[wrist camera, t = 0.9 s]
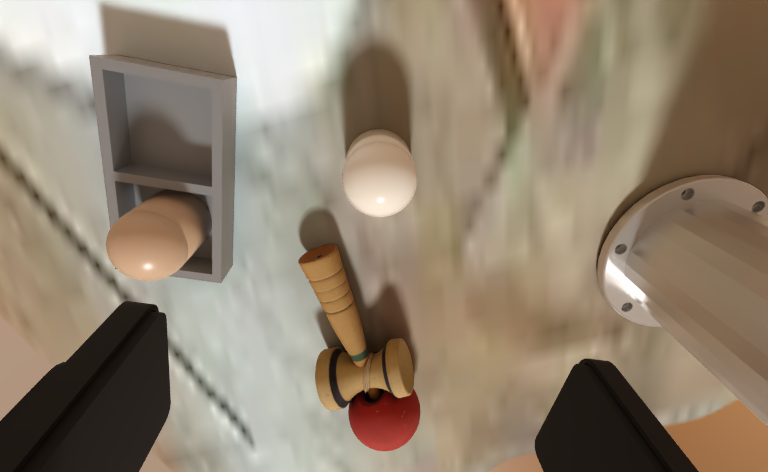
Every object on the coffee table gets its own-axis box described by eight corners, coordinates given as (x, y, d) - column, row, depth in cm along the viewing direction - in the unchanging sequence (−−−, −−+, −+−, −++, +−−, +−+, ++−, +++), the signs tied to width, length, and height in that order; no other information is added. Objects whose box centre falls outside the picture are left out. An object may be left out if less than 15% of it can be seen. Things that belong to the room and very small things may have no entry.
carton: (236, 77, 24) (191, 86, 18) (232, 265, 30) (196, 320, 24) (116, 54, 23) (26, 56, 17) (135, 251, 29) (72, 305, 23)
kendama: (269, 258, 31) (349, 430, 36) (256, 287, 25) (355, 489, 30) (360, 223, 32) (426, 398, 37) (369, 244, 26) (447, 450, 31)
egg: (417, 135, 26) (429, 158, 20) (403, 197, 28) (411, 234, 22) (351, 123, 25) (345, 143, 20) (342, 187, 27) (334, 222, 22)
